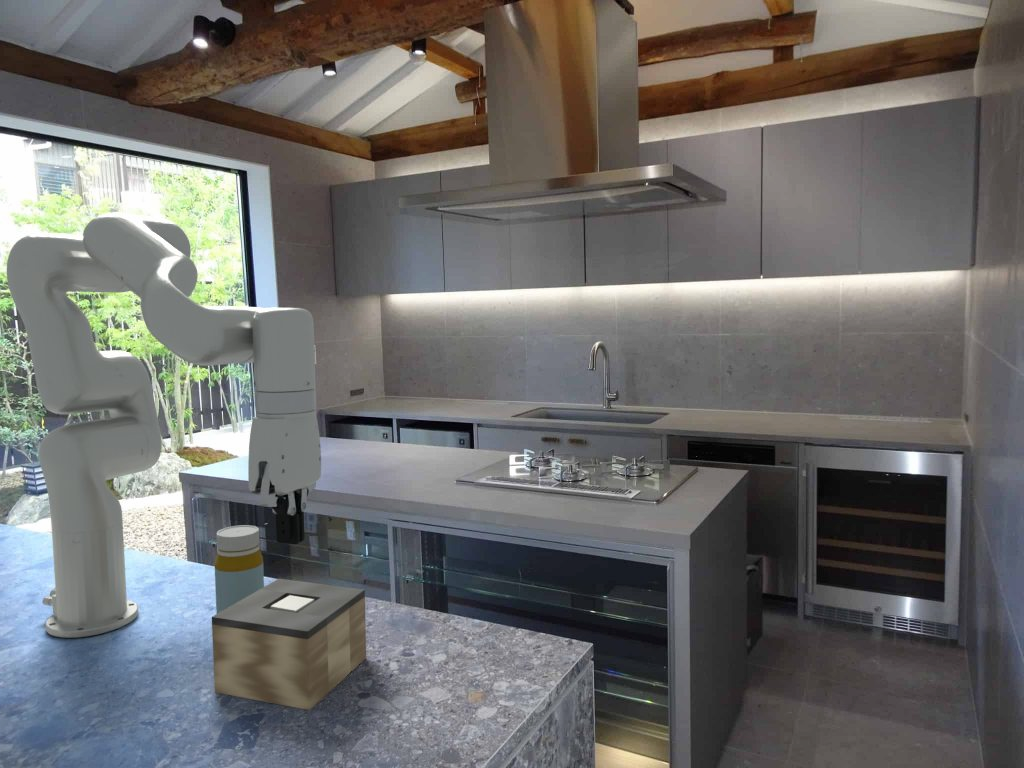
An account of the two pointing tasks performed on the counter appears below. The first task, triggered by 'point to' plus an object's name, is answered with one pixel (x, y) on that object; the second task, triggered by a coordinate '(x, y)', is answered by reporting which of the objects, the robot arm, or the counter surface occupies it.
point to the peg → (292, 604)
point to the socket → (289, 643)
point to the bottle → (237, 565)
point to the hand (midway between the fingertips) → (290, 541)
